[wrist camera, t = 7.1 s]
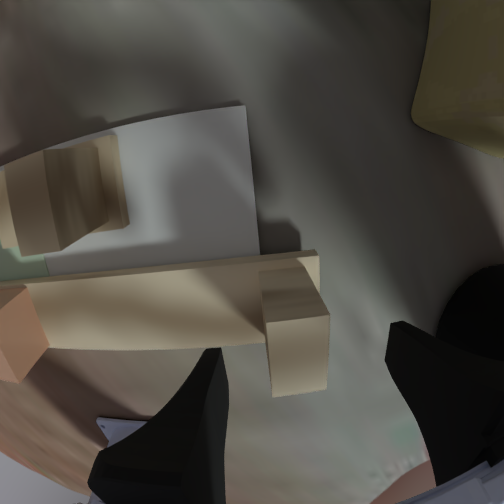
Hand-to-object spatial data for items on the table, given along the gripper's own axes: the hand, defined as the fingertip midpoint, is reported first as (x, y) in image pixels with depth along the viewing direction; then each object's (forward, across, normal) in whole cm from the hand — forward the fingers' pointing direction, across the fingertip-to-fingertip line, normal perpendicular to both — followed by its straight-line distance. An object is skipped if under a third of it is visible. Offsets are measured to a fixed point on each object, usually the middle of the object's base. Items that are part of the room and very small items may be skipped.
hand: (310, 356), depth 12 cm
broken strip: (+7, +20, -8) cm, 23 cm away
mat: (+7, +17, -4) cm, 19 cm away
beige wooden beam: (+7, +10, 0) cm, 12 cm away
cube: (+5, +19, 0) cm, 20 cm away
